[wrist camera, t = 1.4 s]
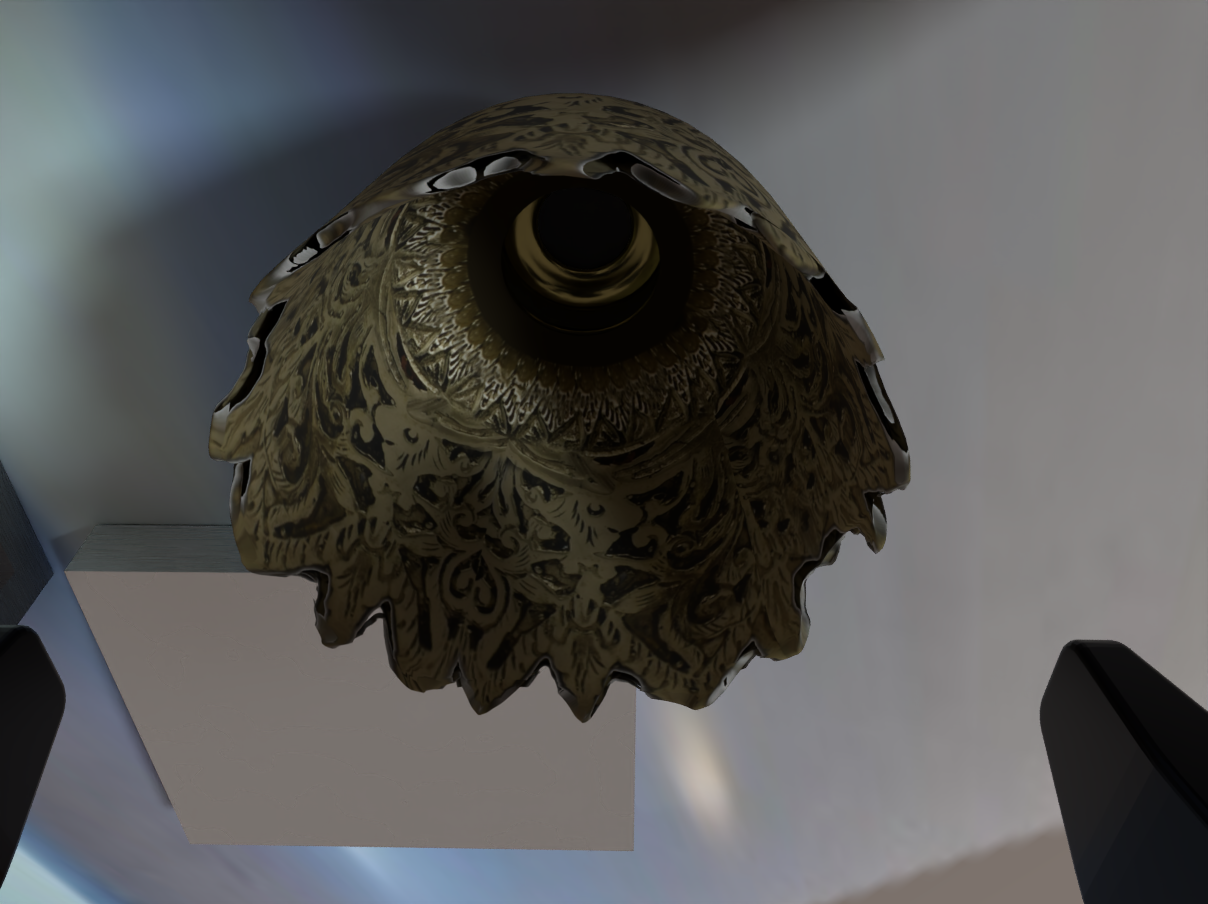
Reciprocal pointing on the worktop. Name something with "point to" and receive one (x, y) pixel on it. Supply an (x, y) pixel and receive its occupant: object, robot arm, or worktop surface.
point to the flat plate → (332, 717)
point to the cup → (559, 415)
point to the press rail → (18, 558)
